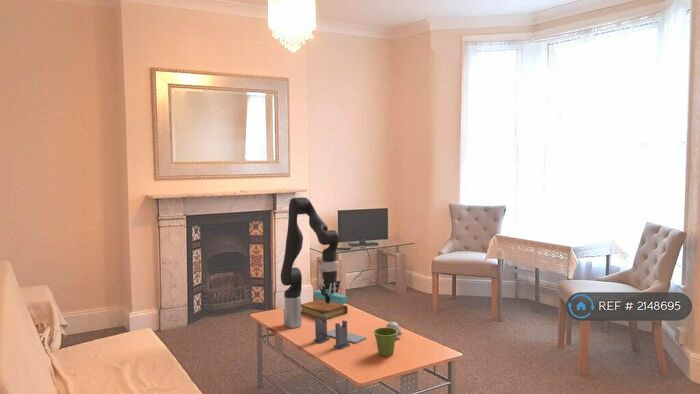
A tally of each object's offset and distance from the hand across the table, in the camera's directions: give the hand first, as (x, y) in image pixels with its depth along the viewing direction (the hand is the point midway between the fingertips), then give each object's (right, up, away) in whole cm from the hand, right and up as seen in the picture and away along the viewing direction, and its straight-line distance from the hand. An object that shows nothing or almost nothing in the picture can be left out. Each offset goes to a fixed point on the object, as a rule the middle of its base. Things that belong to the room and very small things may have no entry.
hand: (330, 302), depth 281 cm
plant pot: (+28, -23, -14) cm, 38 cm away
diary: (-6, -18, +55) cm, 58 cm away
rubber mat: (+7, -21, +11) cm, 25 cm away
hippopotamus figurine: (+32, -21, +6) cm, 38 cm away
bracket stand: (+1, -22, +2) cm, 22 cm away
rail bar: (0, +1, 0) cm, 1 cm away
